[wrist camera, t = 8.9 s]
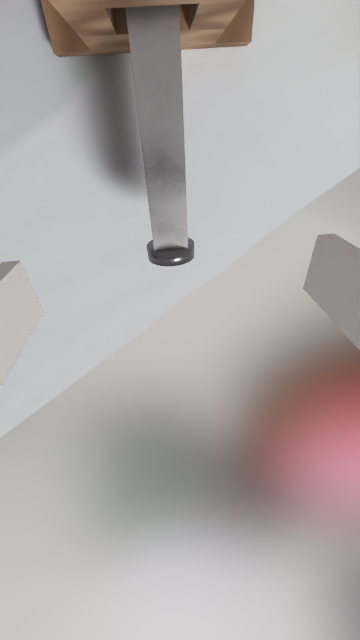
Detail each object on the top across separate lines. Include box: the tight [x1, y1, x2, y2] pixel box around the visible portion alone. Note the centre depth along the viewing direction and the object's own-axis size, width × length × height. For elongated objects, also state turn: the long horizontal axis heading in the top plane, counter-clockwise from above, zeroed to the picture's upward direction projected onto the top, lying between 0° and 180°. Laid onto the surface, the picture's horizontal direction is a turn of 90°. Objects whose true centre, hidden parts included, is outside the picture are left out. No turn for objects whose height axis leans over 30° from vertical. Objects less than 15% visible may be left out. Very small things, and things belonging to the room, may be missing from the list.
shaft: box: [125, 4, 194, 266], centre depth 18 cm, size 4×21×4 cm, turn 3°
